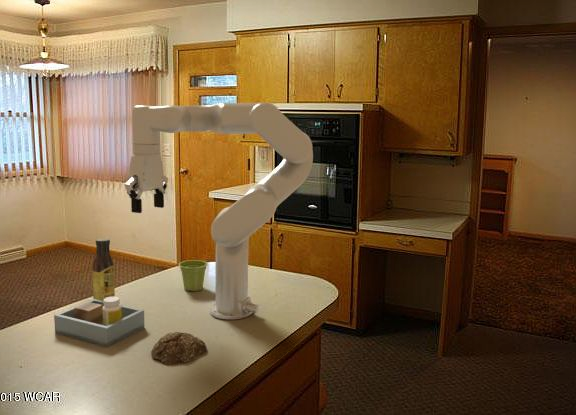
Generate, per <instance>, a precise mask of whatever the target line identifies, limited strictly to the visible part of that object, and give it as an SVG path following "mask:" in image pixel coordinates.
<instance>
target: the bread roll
mask: <svg viewBox="0 0 576 415" xmlns="http://www.w3.org/2000/svg"><path fill="white" fill-rule="evenodd" d="M207 351H208V348H207V345H206V342H204V341H203V340H202V339H201V338H199V337H197V336H194V335H193V334H191V333H188V332H181V331H174V332H169V333H166V334H165V335H164V336H162V337H160V339H159V340H158V341H157V342H156V343H155V344H154V346H153V347H152V350H151V352H150V354H151V358H152V359H153V360H154V359H155V360H159V361H161V363H163V365H168V366H171V365H172V366H173V365H178V364H181V363H184V364H185V363H190V362H191V361H194V360H197V358H199V356H200V357H201V355H205V354H206V352H207Z"/></svg>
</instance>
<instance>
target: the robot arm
mask: <svg viewBox="0 0 576 415" xmlns="http://www.w3.org/2000/svg"><path fill="white" fill-rule="evenodd" d="M131 120H132V121H131V126H132V129H131V130H132V155H131V156H130V163H129V170H128V171H129V172H128V174H129V175H128V181H127V182H126V183H125V184H124V187H125V190H126V194H127V195H128V197H129V199H131V200H130V203H131V204H130V205H131V208H130V209H131V212H132V213H135V214H142V212H143V207H142V206H143V205H142V204H143V202H142V201H143V200H142V198H141V197H142V195H143V192H148V191H149V192H150V191H154V193H153V206H154V208H161V209H163V208H165V196H164V195H165V194H166V189H167V187H168V181H169V178H168V177H167V176H166V175H164V165H163V157H162V154H161V151H162V149H161V132H162V133H168V134H175V133H183V132H187V133H189V132H190V133H191V132H192V133H193V132H203V133H204V132H205V133H209V132H210V133H216V134H220V135H221V134H223V135H239V134H240V135H244V134H245V135H252V134H253V135H254V134H255V135H258V136H259V137H260V138H261V139H262V140H264V142H265V143H266V144H268V145H269V146H270V147H271V148H272V149H273V150H275V151H276V153H278V154H279V155H280V156H281V157H282V161H281V162H280V163H279V165H277V166H276V167H275V168H274V169H273V170H272V171H270V172H269V174H267V175H266V176H265V177H264V178H262V179H261V180H260V181H258V182H257V183H256V184H254V185H252V186H251V187H250V188H248V189H247V190H246V192H245V194H243V195H242V196H241V197H240V198H239V199H238V200H236V201H235V202H234V203H233V204H232V205H230V206H227V207H225V208H223V209H222V210H221V211H220V212H218V214H217V215H216V217H215V218H214V220H213V222H212V223H211V226H210V228H211V229H210V233H211V238H212V239H213V241H214V242H215V283H214V284H215V288H214V289H215V291H214V292H215V296H214V297H215V300H214V302H215V303H214V304H212V305H211V306H210V308H209V312H210V315H211V316H213V317H214V318H217V319H221V320H230V321H231V320H240V319H245V318H247V317H249V316H251V315H252V314H253V313H254V314H258V313H259V307H260V306H259V303H254V302H252V297H251V296H249V295H248V294H249V290H248V288H249V284H248V283H249V241H250V237H251V235H253V234H254V233H255V232H257V230H259V229H260V228H262V227H263V226H264V225H265V224H266V223H268V221H270V220H271V219H272V218H273V216H274V215H275V213H276V211H277V207H278V206H279V205H280V204H282V203H283V202H284V201H285V200H287V198H288V197H290V196H291V195H292V194H293V193H294V192H295V191H297V190H298V188H300V186H302V184H303V183H305V181H306V179H308V177H309V175H310V172H311V170H312V167H313V161H314V151H313V142H312V140H311V138H310V136H309V135H308V134H307V133H305V132H304V131H303V130H301V129H300V128H299V127H298V126H296V125H295V124H294V123H293V122H292V121H291V120H290V119H289V118H288V117H287V116H286V115H285V114H283V113H282V112H281V110H280V109H279V108H278V107H277V106H276V105H275V104H273V103H271V102H222V103H220V102H219V103H216V104H211V105H174V104H173V105H170V104H169V105H162V106H156V105H134V107H133V108H132V109H131Z"/></svg>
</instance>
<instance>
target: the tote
mask: <svg viewBox="0 0 576 415" xmlns="http://www.w3.org/2000/svg"><path fill="white" fill-rule="evenodd" d="M87 302H91V303H96V304H100V305H103V306H104V301H101V300H97V299H93V298H92V299H91V300H88V301H86V302H83V303H81V304H78V305H75V306H74V307H71V308H69V309H65V310H64V311H61V312H58V313H55V314H54V315H53V319H54V320H53V321H54V333H55V334H57V333H58V334H57V335H60V334H61V336H64V335H65V337H67V338H72V339H76V340H79V341H83V342H86V343H87V342H88V343H90V344H94V345H98V346H101V347H105V348H108V347H111V346H112V345H114V344H116V343H118V342H120V341H122V340H123V339H126V338H127V337H129V336H131V335H134V334H135V333H137V332H138V331H140V330H143V329H144V328H145V310H144V309H141V308H137V307H132V306H127V305H123V304H120V305H121V310H122V319H120V320H118V321H116V322H114V323H112V324H110V325H108V326H104V325H103V323H101V324H96V323H92V322H88V321H84V320H80V319H76V318H75V307H78V306H80V305H82V304H85V303H87Z"/></svg>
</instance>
